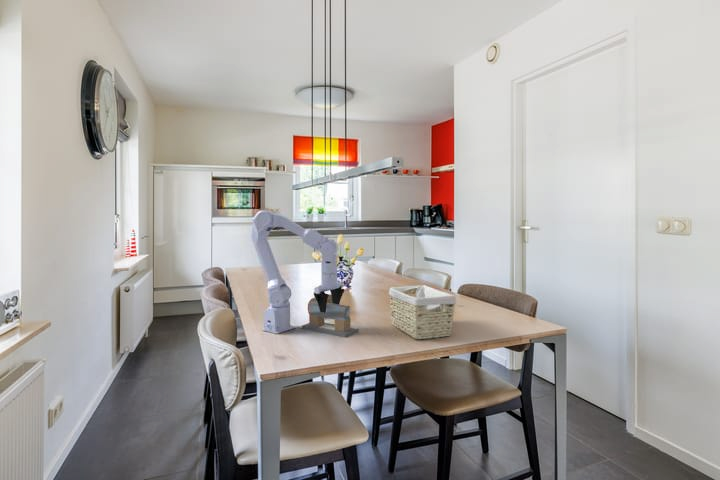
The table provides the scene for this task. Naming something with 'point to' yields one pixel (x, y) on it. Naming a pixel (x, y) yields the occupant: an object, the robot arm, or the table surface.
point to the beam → (330, 311)
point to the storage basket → (422, 311)
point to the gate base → (330, 326)
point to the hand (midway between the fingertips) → (329, 310)
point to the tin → (316, 300)
